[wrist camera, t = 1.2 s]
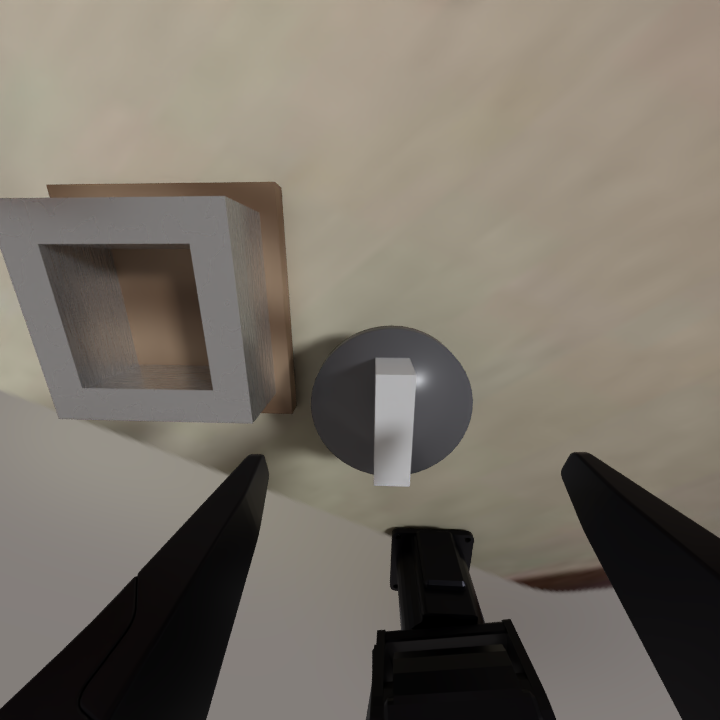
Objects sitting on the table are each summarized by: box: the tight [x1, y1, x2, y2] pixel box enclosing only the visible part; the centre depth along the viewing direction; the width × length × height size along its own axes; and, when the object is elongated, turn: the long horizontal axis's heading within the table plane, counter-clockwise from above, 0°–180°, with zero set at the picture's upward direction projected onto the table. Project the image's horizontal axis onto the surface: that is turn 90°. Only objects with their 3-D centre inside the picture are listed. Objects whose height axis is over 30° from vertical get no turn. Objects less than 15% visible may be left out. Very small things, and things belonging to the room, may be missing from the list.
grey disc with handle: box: [311, 326, 473, 487], centre depth 17 cm, size 9×9×7 cm
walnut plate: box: [47, 182, 297, 414], centre depth 19 cm, size 14×13×1 cm
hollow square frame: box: [0, 196, 276, 423], centre depth 16 cm, size 11×11×4 cm
